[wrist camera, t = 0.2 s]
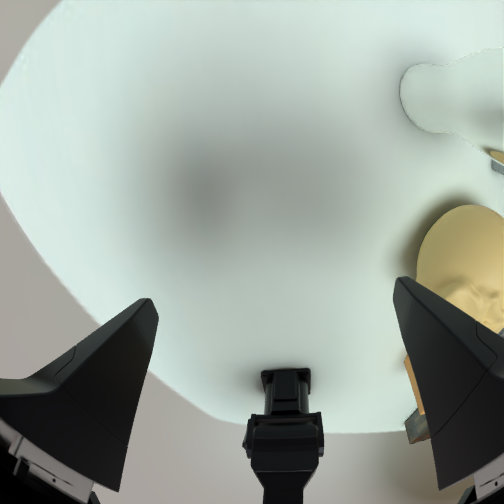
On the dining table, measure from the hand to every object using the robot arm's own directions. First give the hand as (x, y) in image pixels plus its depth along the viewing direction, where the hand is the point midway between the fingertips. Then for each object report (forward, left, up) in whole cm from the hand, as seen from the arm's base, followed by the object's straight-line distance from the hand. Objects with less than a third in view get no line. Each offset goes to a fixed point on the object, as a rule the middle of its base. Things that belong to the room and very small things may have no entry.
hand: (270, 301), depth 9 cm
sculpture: (-8, -18, -14) cm, 24 cm away
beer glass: (+7, -14, -14) cm, 21 cm away
